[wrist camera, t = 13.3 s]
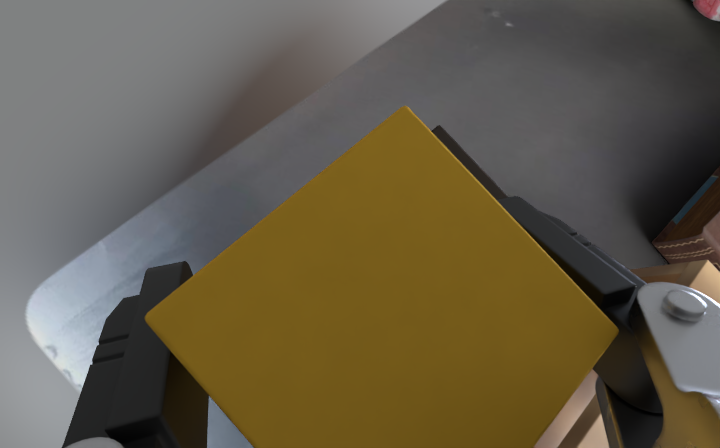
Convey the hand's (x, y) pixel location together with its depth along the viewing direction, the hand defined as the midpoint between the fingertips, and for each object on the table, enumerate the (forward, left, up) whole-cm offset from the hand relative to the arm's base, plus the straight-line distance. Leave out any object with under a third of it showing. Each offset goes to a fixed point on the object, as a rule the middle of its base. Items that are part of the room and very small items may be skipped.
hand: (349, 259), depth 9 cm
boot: (+1, -1, -5) cm, 5 cm away
